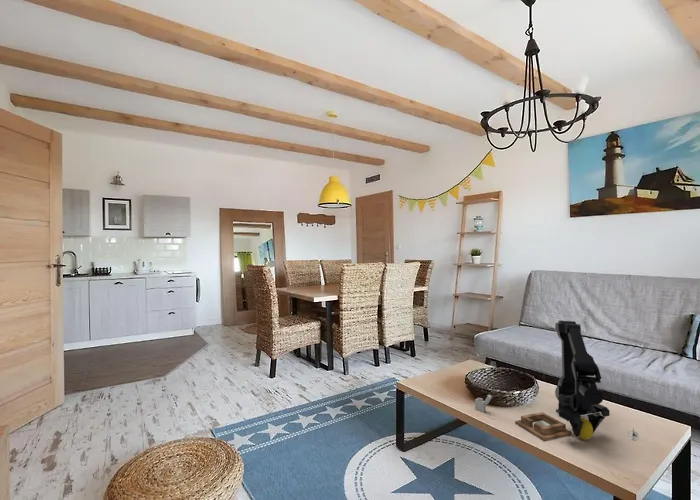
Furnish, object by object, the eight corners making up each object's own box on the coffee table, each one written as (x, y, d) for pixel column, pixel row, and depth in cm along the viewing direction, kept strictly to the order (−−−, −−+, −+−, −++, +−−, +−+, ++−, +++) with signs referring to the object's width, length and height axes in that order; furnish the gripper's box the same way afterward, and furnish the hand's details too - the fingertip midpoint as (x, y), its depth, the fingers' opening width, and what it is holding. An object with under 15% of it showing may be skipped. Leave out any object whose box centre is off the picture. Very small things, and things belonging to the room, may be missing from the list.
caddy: (542, 418, 150) (542, 410, 150) (572, 434, 137) (572, 425, 136) (515, 423, 145) (515, 414, 145) (543, 441, 132) (543, 431, 132)
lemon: (593, 445, 129) (593, 423, 129) (575, 441, 132) (575, 419, 132) (592, 438, 134) (592, 417, 134) (575, 434, 137) (575, 413, 137)
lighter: (474, 409, 158) (474, 391, 158) (476, 408, 159) (476, 390, 159) (490, 414, 153) (490, 396, 153) (492, 413, 154) (492, 395, 154)
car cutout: (644, 445, 130) (644, 433, 130) (621, 439, 135) (621, 427, 135) (645, 429, 142) (645, 418, 142) (624, 424, 146) (624, 413, 146)
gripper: (582, 382, 144) (582, 421, 144) (546, 388, 138) (546, 429, 138) (610, 393, 133) (610, 435, 133) (572, 400, 127) (572, 444, 127)
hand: (584, 435), depth 133 cm, fingers open, 7 cm apart
